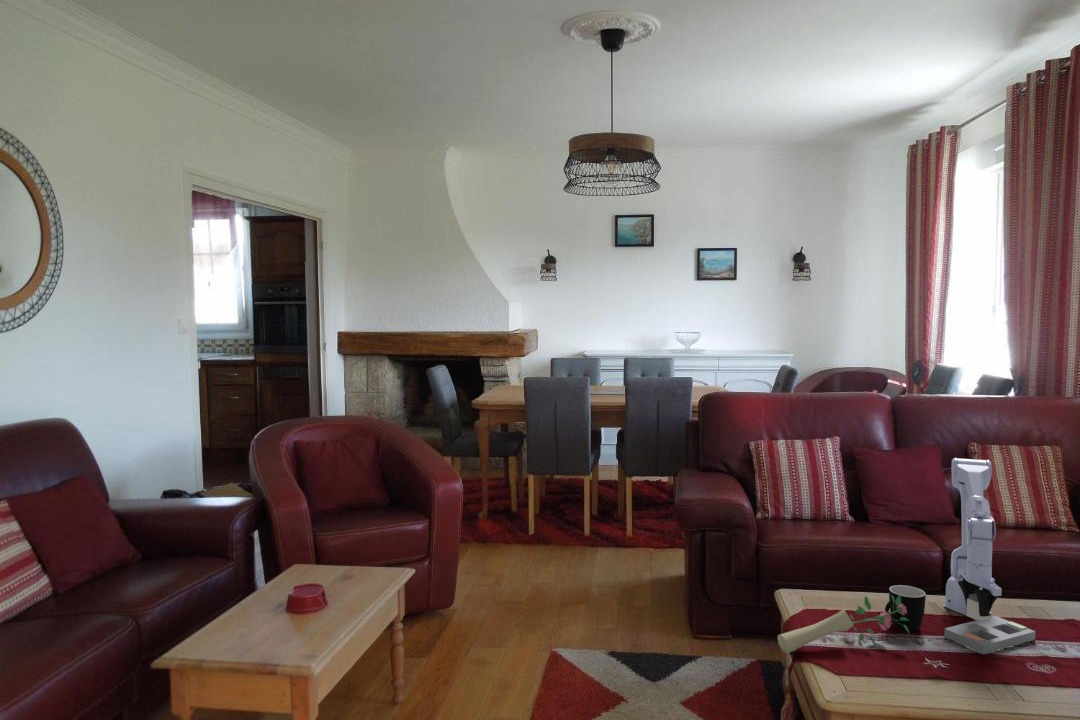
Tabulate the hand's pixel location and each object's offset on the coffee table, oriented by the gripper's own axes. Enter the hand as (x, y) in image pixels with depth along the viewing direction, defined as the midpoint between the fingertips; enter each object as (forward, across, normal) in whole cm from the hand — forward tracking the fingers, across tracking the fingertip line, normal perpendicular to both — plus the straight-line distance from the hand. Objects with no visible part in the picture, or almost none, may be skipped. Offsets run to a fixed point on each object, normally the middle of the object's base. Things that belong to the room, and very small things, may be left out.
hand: (977, 612), depth 198 cm
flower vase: (+6, -2, +40) cm, 40 cm away
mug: (+6, +6, +18) cm, 20 cm away
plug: (+2, 0, 0) cm, 2 cm away
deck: (+6, -4, -1) cm, 7 cm away
